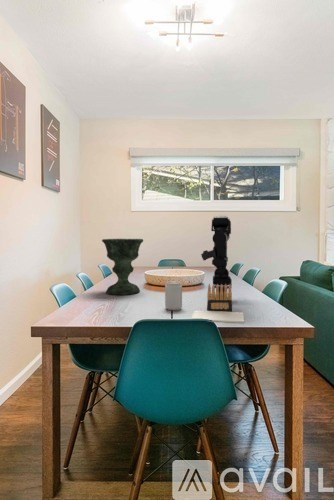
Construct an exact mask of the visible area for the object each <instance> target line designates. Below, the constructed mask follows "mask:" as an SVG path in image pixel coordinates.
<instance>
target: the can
mask: <svg viewBox="0 0 334 500" xmlns="http://www.w3.org/2000/svg"><path fill="white" fill-rule="evenodd" d="M164 289H165V290H164V305H165V306H164V308H166V310H168V311H180V310H181V309H183V285H182V284H181V281H173V280H171V281H167V282H166V284H165V285H164Z"/></svg>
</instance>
